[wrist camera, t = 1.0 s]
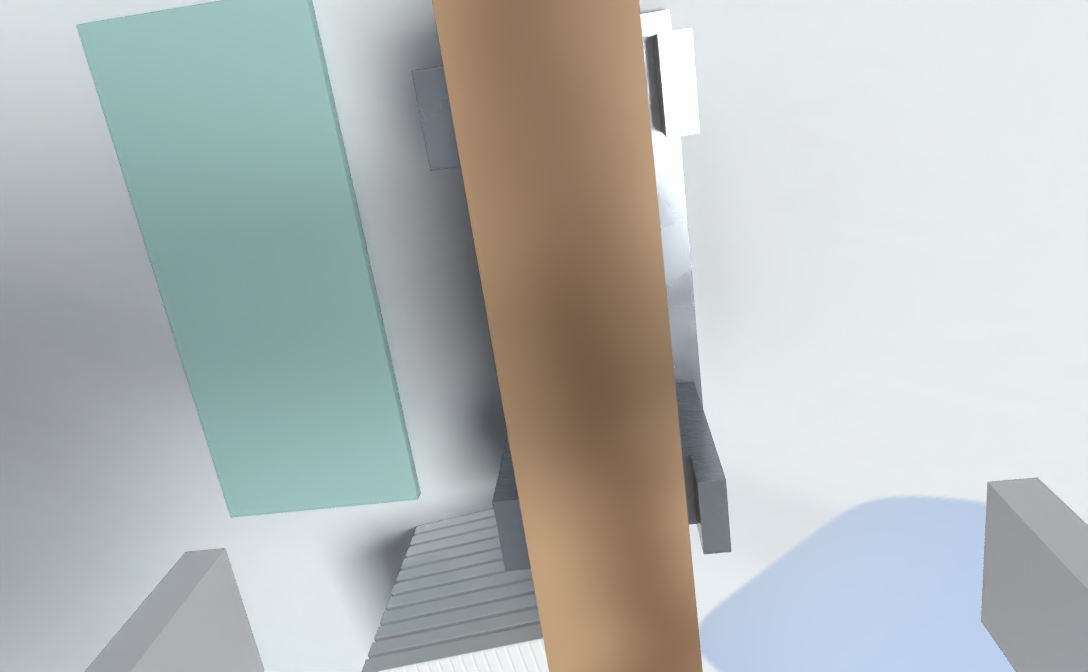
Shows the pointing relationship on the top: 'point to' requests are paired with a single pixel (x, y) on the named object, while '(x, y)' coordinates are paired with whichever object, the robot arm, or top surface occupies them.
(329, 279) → the mat
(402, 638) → the stack of papers
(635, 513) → the rail
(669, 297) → the standards
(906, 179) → the top surface
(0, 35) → the top surface
